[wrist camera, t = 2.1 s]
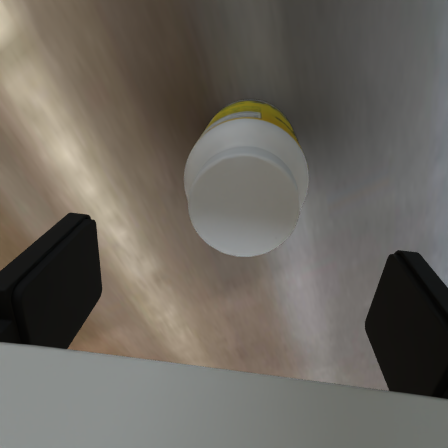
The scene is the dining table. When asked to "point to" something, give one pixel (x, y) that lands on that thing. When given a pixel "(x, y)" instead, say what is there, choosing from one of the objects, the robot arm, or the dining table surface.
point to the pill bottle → (246, 180)
